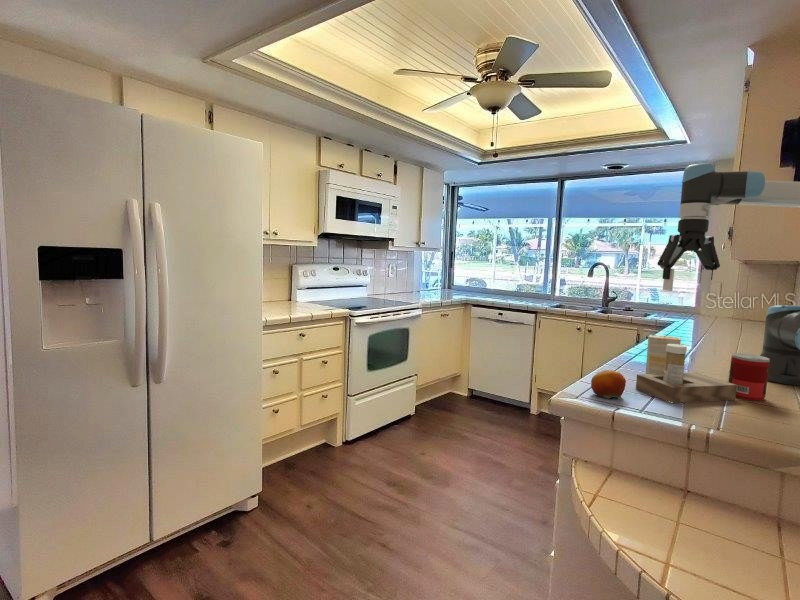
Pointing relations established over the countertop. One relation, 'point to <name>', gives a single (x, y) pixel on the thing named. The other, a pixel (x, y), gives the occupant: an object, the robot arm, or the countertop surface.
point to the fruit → (608, 384)
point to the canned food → (749, 375)
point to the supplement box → (658, 353)
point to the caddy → (687, 388)
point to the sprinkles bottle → (674, 363)
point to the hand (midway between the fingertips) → (686, 291)
